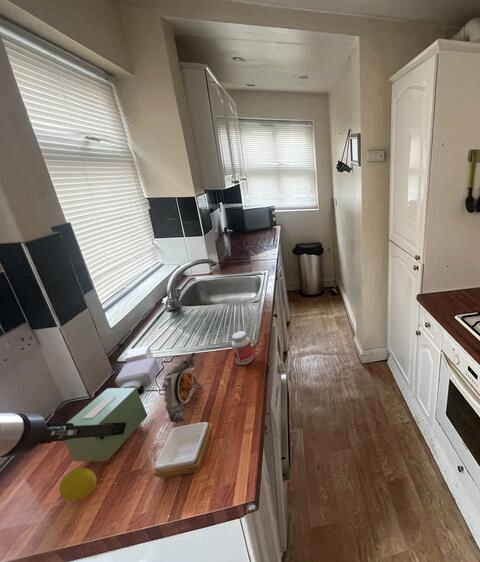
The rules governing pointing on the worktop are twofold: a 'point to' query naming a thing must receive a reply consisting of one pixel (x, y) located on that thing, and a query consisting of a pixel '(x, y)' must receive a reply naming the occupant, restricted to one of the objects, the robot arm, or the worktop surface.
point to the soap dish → (183, 450)
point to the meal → (179, 388)
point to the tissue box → (107, 409)
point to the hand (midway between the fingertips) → (107, 428)
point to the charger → (137, 373)
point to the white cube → (138, 354)
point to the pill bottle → (242, 348)
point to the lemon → (78, 484)
